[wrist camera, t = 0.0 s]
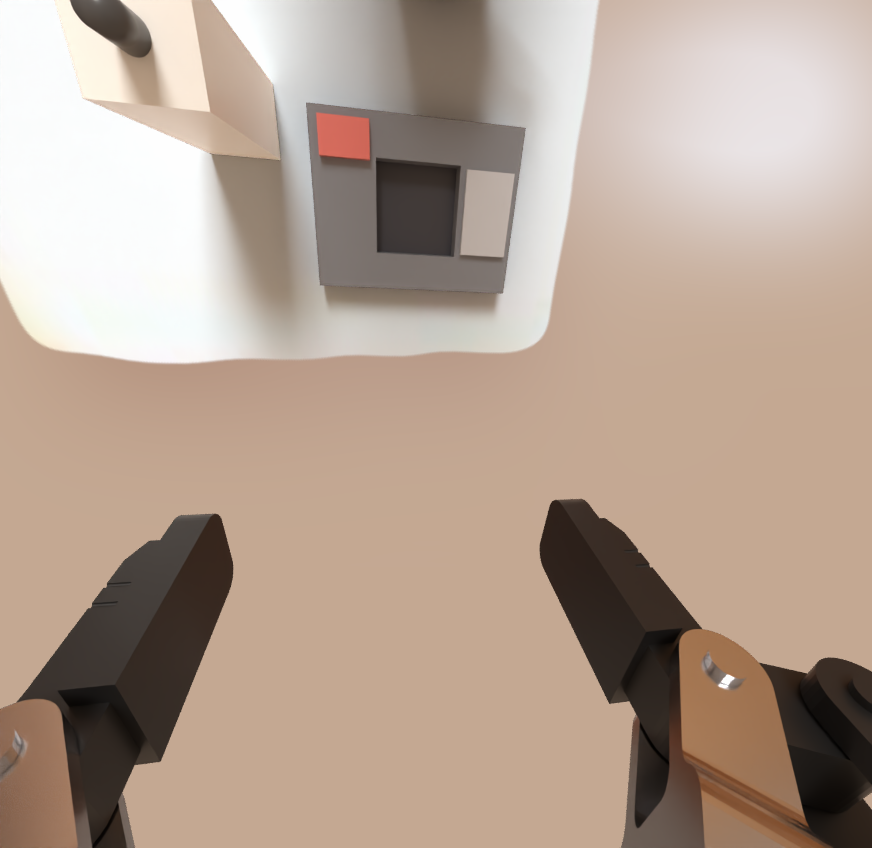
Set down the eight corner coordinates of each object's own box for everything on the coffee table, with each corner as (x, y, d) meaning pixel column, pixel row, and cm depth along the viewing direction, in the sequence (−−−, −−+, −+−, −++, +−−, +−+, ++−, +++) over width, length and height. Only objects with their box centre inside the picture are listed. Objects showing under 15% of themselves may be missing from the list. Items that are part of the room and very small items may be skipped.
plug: (196, 74, 26) (-24, -111, 12) (272, 83, 27) (153, -80, 12) (210, 153, 28) (37, 78, 14) (280, 160, 29) (186, 95, 15)
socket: (310, 110, 28) (304, 100, 25) (517, 133, 30) (528, 126, 28) (323, 282, 33) (319, 286, 31) (496, 290, 36) (504, 294, 33)
